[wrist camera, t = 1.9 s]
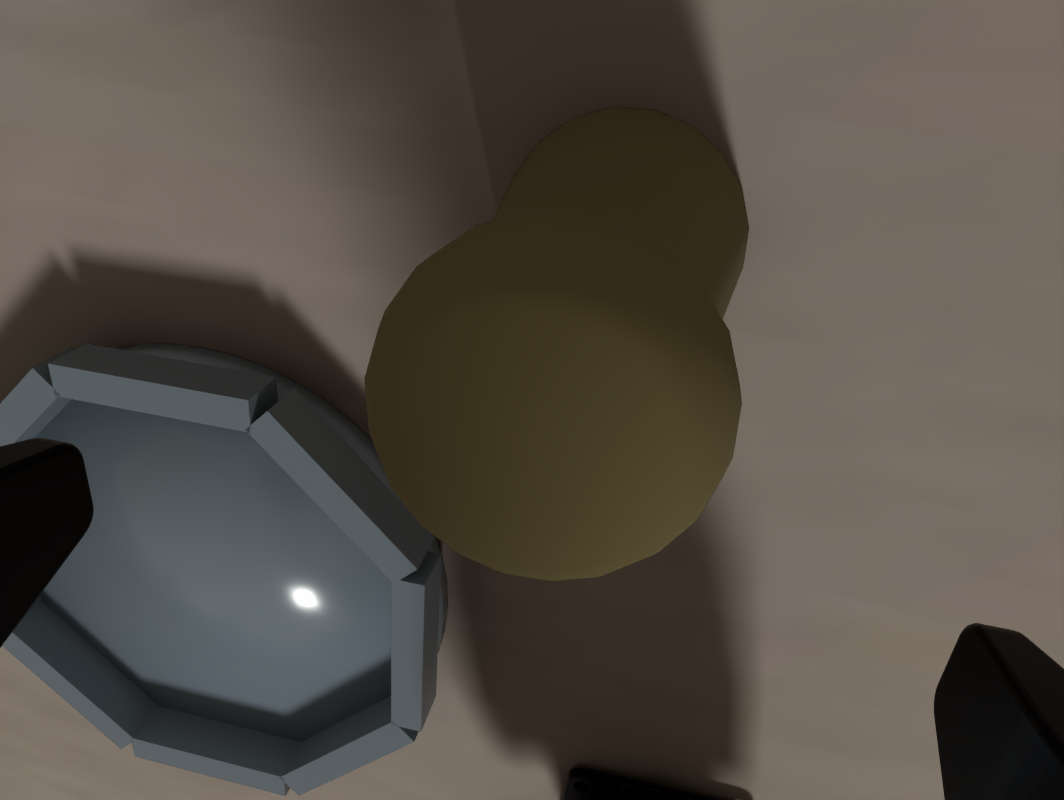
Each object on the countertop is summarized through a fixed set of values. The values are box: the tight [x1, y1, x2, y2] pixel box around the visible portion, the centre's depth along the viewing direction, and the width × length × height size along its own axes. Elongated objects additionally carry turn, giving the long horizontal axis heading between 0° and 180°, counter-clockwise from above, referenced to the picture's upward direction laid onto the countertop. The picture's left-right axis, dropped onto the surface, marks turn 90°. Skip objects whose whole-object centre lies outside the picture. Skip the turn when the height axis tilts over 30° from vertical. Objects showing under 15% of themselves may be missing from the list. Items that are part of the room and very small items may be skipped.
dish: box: [0, 344, 448, 796], centre depth 26 cm, size 16×16×2 cm
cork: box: [365, 108, 749, 581], centre depth 14 cm, size 6×6×11 cm
